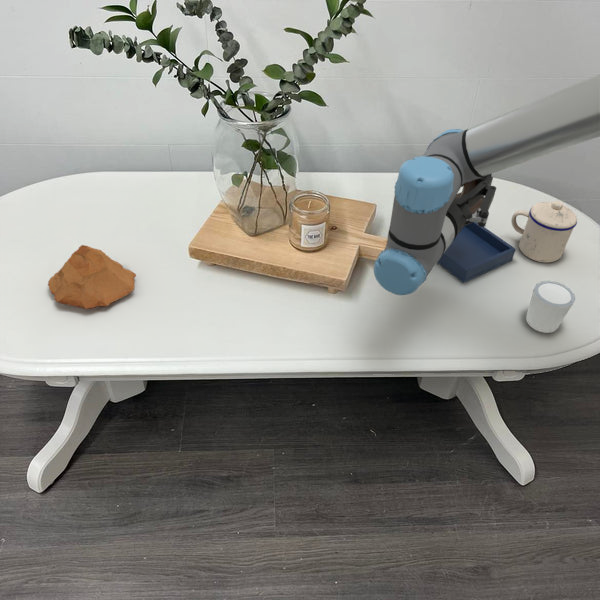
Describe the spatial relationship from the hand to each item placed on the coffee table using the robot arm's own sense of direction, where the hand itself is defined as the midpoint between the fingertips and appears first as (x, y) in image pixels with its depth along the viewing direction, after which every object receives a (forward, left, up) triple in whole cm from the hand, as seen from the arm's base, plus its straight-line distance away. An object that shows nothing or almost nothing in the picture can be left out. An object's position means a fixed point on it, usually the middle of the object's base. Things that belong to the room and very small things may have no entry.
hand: (482, 168), depth 108 cm
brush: (-2, +5, -8) cm, 10 cm away
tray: (-1, +2, -18) cm, 18 cm away
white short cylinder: (-25, +4, -18) cm, 31 cm away
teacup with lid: (-9, -12, -18) cm, 23 cm away
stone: (+25, +70, -18) cm, 77 cm away
